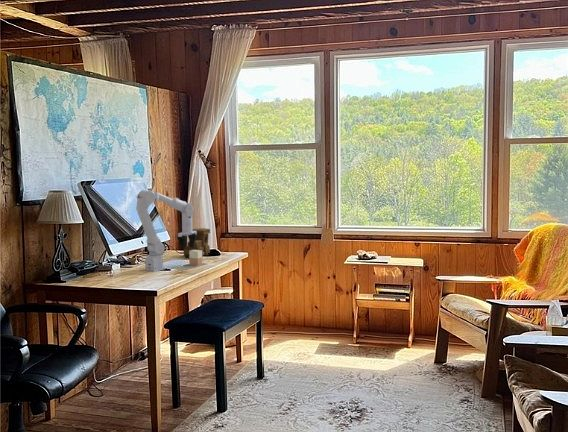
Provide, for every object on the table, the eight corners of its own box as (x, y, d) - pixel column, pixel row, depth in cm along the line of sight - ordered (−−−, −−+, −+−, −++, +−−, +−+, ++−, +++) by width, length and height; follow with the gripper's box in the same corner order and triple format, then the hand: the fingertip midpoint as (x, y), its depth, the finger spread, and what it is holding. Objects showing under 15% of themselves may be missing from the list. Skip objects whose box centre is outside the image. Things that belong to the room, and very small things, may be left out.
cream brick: (197, 258, 326) (197, 251, 326) (189, 257, 329) (189, 250, 329) (202, 257, 330) (202, 250, 329) (193, 256, 333) (193, 249, 332)
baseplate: (186, 271, 313) (186, 262, 313) (170, 269, 318) (170, 261, 318) (208, 264, 332) (208, 256, 331) (193, 263, 337) (193, 255, 336)
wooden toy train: (195, 253, 374) (195, 228, 372) (212, 254, 371) (211, 228, 369) (182, 258, 354) (181, 231, 353) (199, 259, 351) (198, 232, 350)
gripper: (184, 225, 318) (185, 250, 319) (200, 223, 331) (201, 246, 332) (174, 225, 321) (175, 249, 323) (190, 222, 334) (191, 246, 335)
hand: (187, 248), depth 328 cm, fingers open, 7 cm apart
